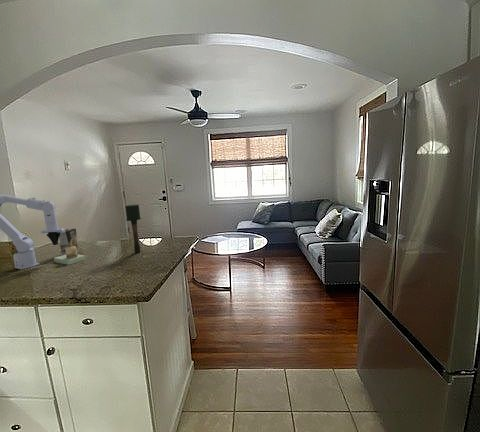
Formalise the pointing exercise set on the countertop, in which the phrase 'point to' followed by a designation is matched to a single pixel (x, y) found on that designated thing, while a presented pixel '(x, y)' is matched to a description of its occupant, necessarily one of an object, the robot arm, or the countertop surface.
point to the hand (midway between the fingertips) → (55, 244)
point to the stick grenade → (134, 223)
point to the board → (64, 259)
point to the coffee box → (68, 240)
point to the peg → (71, 252)
